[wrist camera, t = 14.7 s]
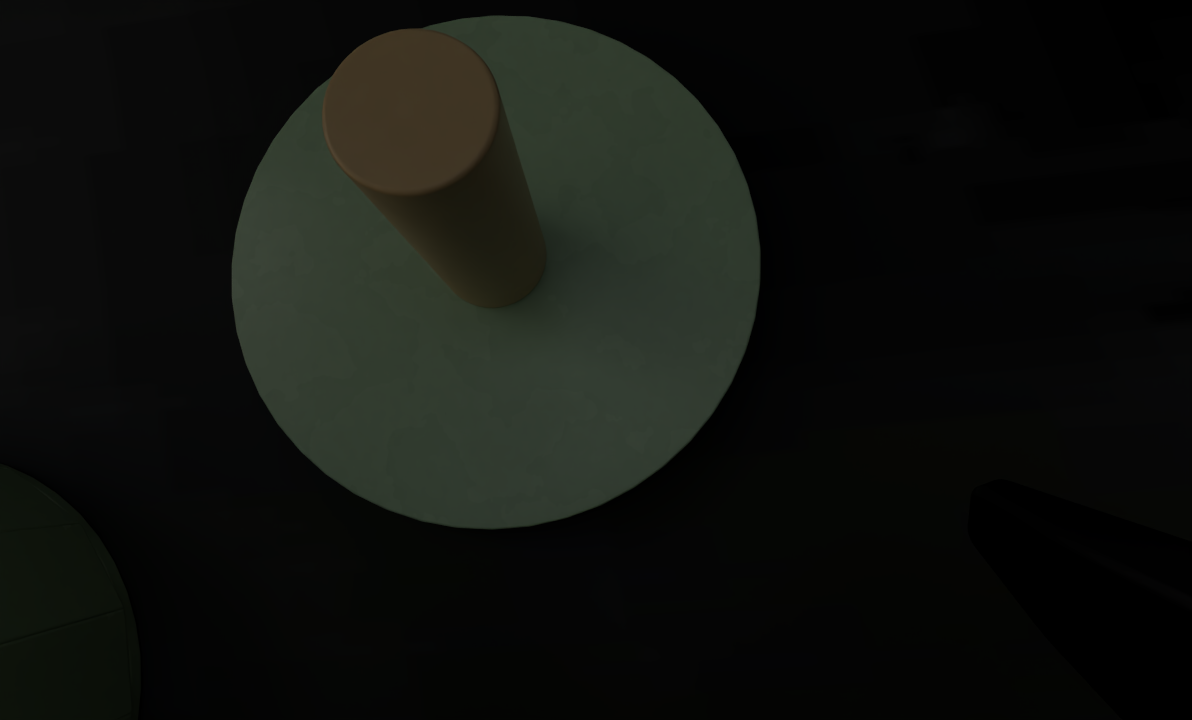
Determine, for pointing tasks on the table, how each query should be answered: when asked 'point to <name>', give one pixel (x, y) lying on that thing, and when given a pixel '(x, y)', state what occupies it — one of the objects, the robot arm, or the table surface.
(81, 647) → the tin
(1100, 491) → the table surface
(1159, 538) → the robot arm
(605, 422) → the lid
